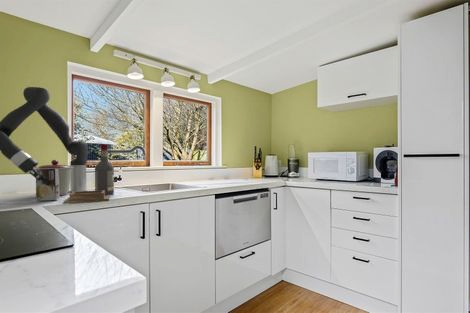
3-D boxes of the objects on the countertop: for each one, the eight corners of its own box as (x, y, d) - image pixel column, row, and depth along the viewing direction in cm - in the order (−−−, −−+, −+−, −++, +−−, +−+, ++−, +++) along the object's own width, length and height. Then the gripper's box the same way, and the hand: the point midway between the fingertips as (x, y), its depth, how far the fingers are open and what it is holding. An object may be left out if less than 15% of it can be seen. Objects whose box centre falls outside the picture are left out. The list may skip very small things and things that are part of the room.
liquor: (94, 196, 160) (93, 144, 160) (98, 194, 169) (98, 144, 169) (111, 195, 162) (110, 144, 162) (114, 193, 170) (114, 144, 171)
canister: (78, 194, 166) (78, 159, 166) (44, 198, 151) (44, 160, 151) (64, 192, 176) (63, 159, 177) (30, 196, 162) (30, 160, 162)
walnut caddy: (68, 198, 149) (68, 191, 149) (109, 196, 157) (109, 189, 157) (63, 203, 135) (63, 195, 135) (108, 200, 142) (108, 192, 142)
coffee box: (60, 198, 148) (60, 168, 148) (55, 199, 142) (55, 168, 142) (40, 198, 146) (40, 168, 146) (35, 200, 140) (35, 168, 140)
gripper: (26, 156, 135) (54, 179, 139) (34, 156, 148) (60, 177, 152) (12, 167, 133) (42, 190, 137) (22, 166, 146) (48, 187, 150)
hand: (51, 183), depth 145 cm, fingers closed on coffee box, 7 cm apart
